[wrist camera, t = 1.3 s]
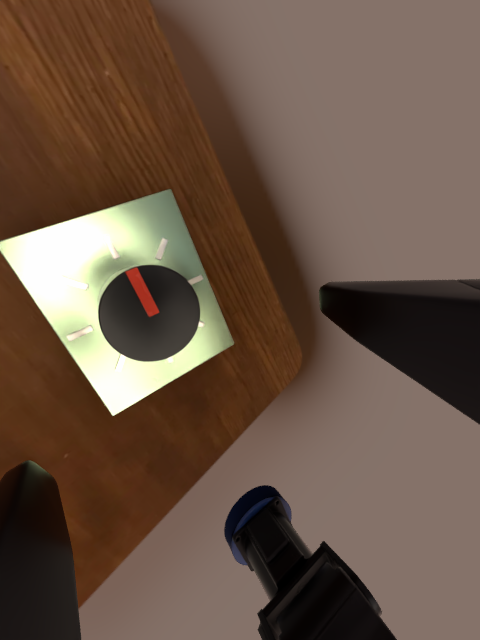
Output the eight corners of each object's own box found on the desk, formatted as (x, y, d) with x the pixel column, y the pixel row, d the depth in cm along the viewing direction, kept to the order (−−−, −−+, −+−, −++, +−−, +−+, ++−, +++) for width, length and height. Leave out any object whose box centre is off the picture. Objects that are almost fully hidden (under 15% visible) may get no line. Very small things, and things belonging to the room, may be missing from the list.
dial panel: (219, 336, 24) (235, 344, 21) (110, 398, 20) (112, 418, 17) (161, 199, 19) (171, 187, 17) (10, 247, 16) (-8, 242, 13)
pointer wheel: (190, 320, 19) (216, 334, 15) (123, 355, 17) (131, 382, 13) (159, 254, 17) (179, 249, 13) (81, 285, 15) (74, 290, 11)
